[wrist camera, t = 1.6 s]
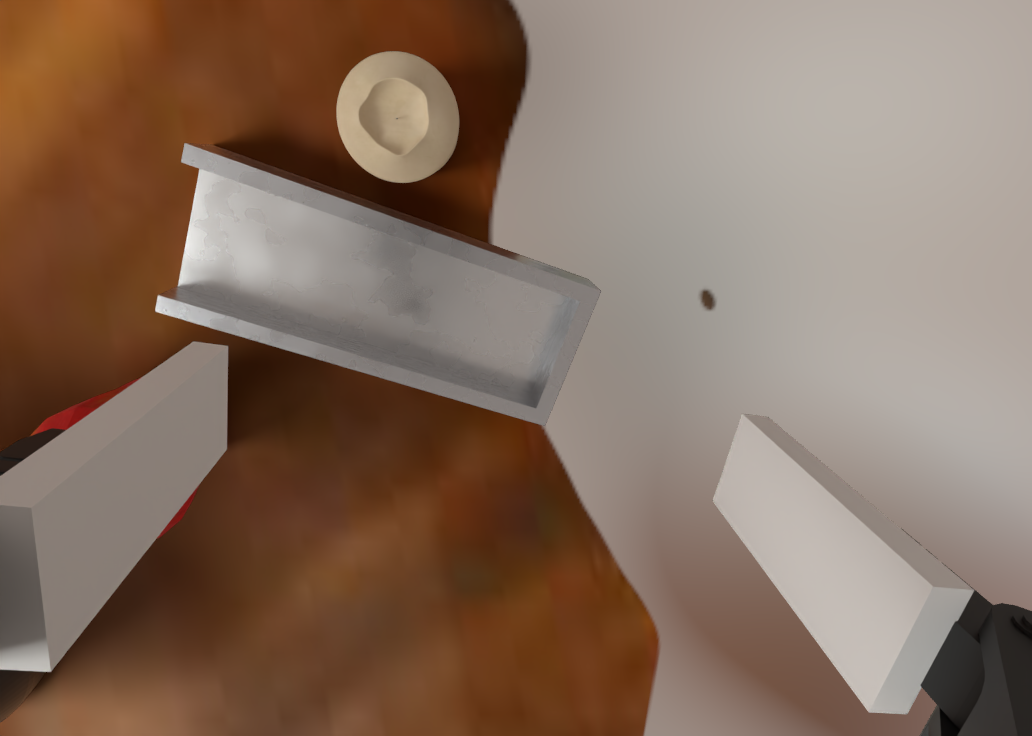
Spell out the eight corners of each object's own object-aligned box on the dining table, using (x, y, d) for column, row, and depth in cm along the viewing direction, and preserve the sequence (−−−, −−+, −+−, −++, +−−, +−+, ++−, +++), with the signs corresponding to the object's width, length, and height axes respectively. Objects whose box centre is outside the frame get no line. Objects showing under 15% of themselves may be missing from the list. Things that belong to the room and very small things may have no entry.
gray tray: (183, 296, 36) (154, 311, 32) (212, 144, 33) (184, 142, 30) (537, 403, 41) (545, 426, 37) (587, 279, 38) (601, 290, 35)
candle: (458, 179, 35) (459, 186, 26) (366, 175, 35) (334, 182, 25) (458, 79, 33) (459, 49, 24) (361, 74, 33) (324, 40, 23)
